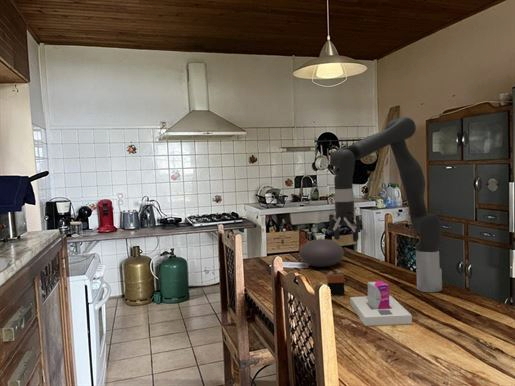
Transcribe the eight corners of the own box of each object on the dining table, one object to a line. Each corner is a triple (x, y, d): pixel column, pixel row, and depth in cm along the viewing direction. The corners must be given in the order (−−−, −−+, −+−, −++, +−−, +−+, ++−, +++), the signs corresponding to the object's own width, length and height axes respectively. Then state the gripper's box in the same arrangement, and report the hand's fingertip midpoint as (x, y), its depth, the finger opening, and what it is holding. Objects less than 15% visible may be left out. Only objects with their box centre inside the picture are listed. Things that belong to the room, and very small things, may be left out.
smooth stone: (291, 264, 229) (290, 239, 229) (327, 258, 240) (326, 234, 239) (315, 273, 207) (314, 245, 206) (353, 266, 217) (352, 239, 217)
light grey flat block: (390, 302, 157) (390, 294, 157) (411, 323, 135) (411, 314, 135) (350, 304, 157) (350, 296, 157) (365, 326, 136) (364, 316, 135)
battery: (344, 295, 169) (343, 272, 169) (328, 296, 170) (327, 273, 169) (343, 292, 173) (342, 270, 173) (327, 292, 174) (326, 270, 173)
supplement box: (376, 317, 143) (375, 286, 142) (367, 312, 149) (366, 282, 148) (390, 315, 144) (389, 284, 144) (381, 309, 150) (380, 280, 149)
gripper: (365, 199, 155) (366, 240, 156) (335, 199, 165) (337, 237, 166) (354, 201, 150) (356, 243, 151) (324, 200, 160) (326, 240, 161)
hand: (346, 240), depth 158 cm, fingers open, 8 cm apart
